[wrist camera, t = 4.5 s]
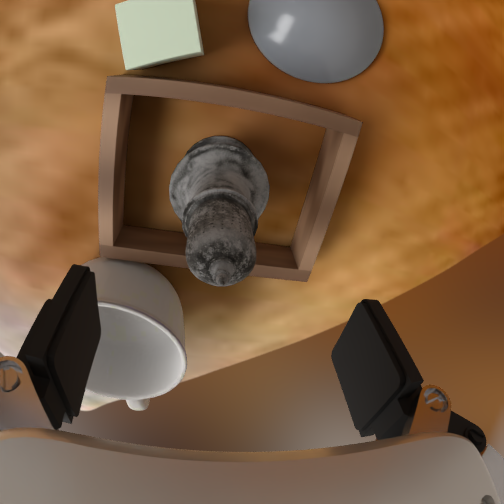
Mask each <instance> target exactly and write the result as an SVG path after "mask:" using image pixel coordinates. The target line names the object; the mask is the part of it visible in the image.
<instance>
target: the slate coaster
mask: <svg viewBox="0 0 504 504" xmlns="http://www.w3.org/2000/svg"><path fill="white" fill-rule="evenodd" d="M248 25H249V29H250V33H251V36H252V38H253V40H254V43H255V44H256V46H257V47H258V49H259V51H260V52H261V53H262V54H263V56H264V57H265V58H266V59H267V60H268V61H269V62H270V63H271V64H273V65H274V66H275V67H277V68H278V69H279V70H281V71H283V72H284V73H286V74H288V75H290V76H293V77H295V78H298V79H301V80H305V81H310V82H317V83H333V82H340V81H343V80H347V79H349V78H352V77H354V76H356V75H358V74H359V73H361V72H362V71H363V70H365V69H366V68H367V67H368V66H369V65H370V64H371V63H372V62H373V60H374V59H375V57H376V56H377V54H378V52H379V50H380V47H381V44H382V40H383V30H384V27H383V18H382V14H381V11H380V8H379V5H378V3H377V1H376V0H250V1H249V6H248Z"/></svg>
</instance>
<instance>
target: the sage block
mask: <svg viewBox="0 0 504 504" xmlns="http://www.w3.org/2000/svg"><path fill="white" fill-rule="evenodd" d="M115 9H116V16H117V22H118V29H119V35H120V41H121V46H122V52H123V58H124V63H125V68H126V70H138V69H146V68H149V67H153V66H157V65H161V64H165V63H169V62H174V61H178V60H183V59H187V58H192V57H197V56H203V55H204V51H203V45H202V39H201V33H200V27H199V21H198V14H197V8H196V2H195V0H128V1H125V2H122V3H119V4H116V5H115Z"/></svg>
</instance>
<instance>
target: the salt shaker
mask: <svg viewBox="0 0 504 504" xmlns="http://www.w3.org/2000/svg"><path fill="white" fill-rule="evenodd" d="M169 194H170V201H171V204H172V207H173V209H174V212H175V213H176V214H177V216H178V217H179V219H180V220H181V221H182V227H183V230H184V233H185V236H186V237H187V244H186V251H185V253H186V261H187V264H188V266H189V269H190V271H191V272H192V273H193V274H194V276H195V277H197V278H198V279H200V280H201V281H203V282H205V283H208V284H210V285H214V286H229V285H234V284H236V283H238V282H240V281H242V280H243V279H244V278H246V277H247V276H248V275H249V274H250V273H251V271H252V270H253V268H254V265H255V262H256V253H257V251H256V246H255V241H254V236H255V233H256V230H257V228H258V218H259V217H260V215H261V214H262V213H263V211H264V210H265V207H266V204H267V201H268V199H269V182H268V177H267V174H266V172H265V170H264V168H263V166H262V164H261V163H260V162H259V161H258V160H257V159H256V158H255V157H254V156H253V154H252V152H251V151H250V150H249V149H248V148H247V147H246V146H245V145H244V144H243V143H241V142H240V141H238V140H236V139H234V138H230V137H226V136H212V137H209V138H205V139H202V140H201V141H199V142H197V143H196V144H194V145H193V146H192V147H191V148H190V149H189V150H188V151H187V153H186V155H185V157H184V158H183V159H182V160H181V161H180V162H179V163H178V165H177V166H176V168H175V170H174V172H173V174H172V176H171V181H170V186H169Z"/></svg>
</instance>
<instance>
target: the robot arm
mask: <svg viewBox="0 0 504 504" xmlns="http://www.w3.org/2000/svg"><path fill="white" fill-rule="evenodd" d="M100 338H101V324H100V317H99V309H98V300H97V291H96V280H95V273H94V272H92V271H90V268H89V267H88V266H82V265H75V264H74V265H72V266H71V268H70V270H69V271H68V273H67V275H66V276H65V278H64V280H63V282H62V283H61V285H60V287H59V288H58V290H57V292H56V294H55V295H54V297H53V299H48V300H47V301H46V302H45V303H44V305H43V307H42V309H41V311H40V312H39V314H38V316H37V318H36V320H35V322H34V324H33V325H32V327H31V329H30V331H29V333H28V335H27V337H26V339H25V341H24V343H23V345H22V347H21V349H20V351H19V354H18V356H17V358H15V357H11V356H5V357H0V504H504V458H503V457H502V456H501V455H500V454H499V453H498V452H497V451H495V449H493V447H492V446H490V445H489V444H488V445H487V446H486V437H485V435H484V433H483V431H482V430H481V429H480V428H479V427H478V426H476V425H475V424H473V423H472V422H470V421H468V420H467V419H465V418H463V417H461V416H460V415H458V414H456V413H454V412H453V411H451V401H450V398H449V396H448V395H447V394H446V392H445V391H444V390H443V389H441V388H440V387H438V386H435V385H426V386H425V387H423V388H422V387H421V384H422V382H423V381H424V380H423V379H422V376H421V375H420V373H419V371H418V369H417V367H416V365H415V363H414V362H413V360H412V358H411V356H410V354H409V352H408V351H407V349H406V347H405V345H404V344H403V342H402V340H401V338H400V336H399V335H398V333H397V331H396V329H395V328H394V326H393V324H392V323H391V321H390V319H389V317H388V316H387V314H386V312H385V311H384V309H383V307H382V306H381V304H380V302H379V301H378V300H370V299H363V300H362V301H361V302H360V303H358V304H357V305H356V307H355V309H354V311H353V313H352V315H351V317H350V319H349V321H348V323H347V325H346V327H345V328H344V330H343V332H342V334H341V336H340V338H339V339H338V341H337V343H336V345H335V347H334V349H333V351H332V355H331V357H332V361H333V364H334V367H335V370H336V373H337V375H338V379H339V381H340V384H341V387H342V390H343V393H344V396H345V399H346V402H347V405H348V408H349V411H350V414H351V417H352V420H353V422H354V426H355V428H356V429H357V430H359V432H360V435H361V437H365V436H371V435H374V434H375V435H376V440H375V441H371V442H365V443H358V444H352V445H345V446H338V447H329V448H319V449H308V450H296V451H277V452H212V451H194V450H181V449H170V448H161V447H152V446H145V445H138V444H130V443H124V442H118V441H112V440H107V439H101V438H96V437H91V436H86V435H81V434H75V433H70V432H65V431H59V428H60V427H61V425H62V422H66V423H70V424H71V423H72V419H73V416H75V417H77V416H78V415H79V411H80V407H81V403H82V400H83V396H84V392H85V388H86V385H87V381H88V377H89V374H90V370H91V367H92V364H93V360H94V357H95V354H96V351H97V347H98V344H99V341H100Z"/></svg>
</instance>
